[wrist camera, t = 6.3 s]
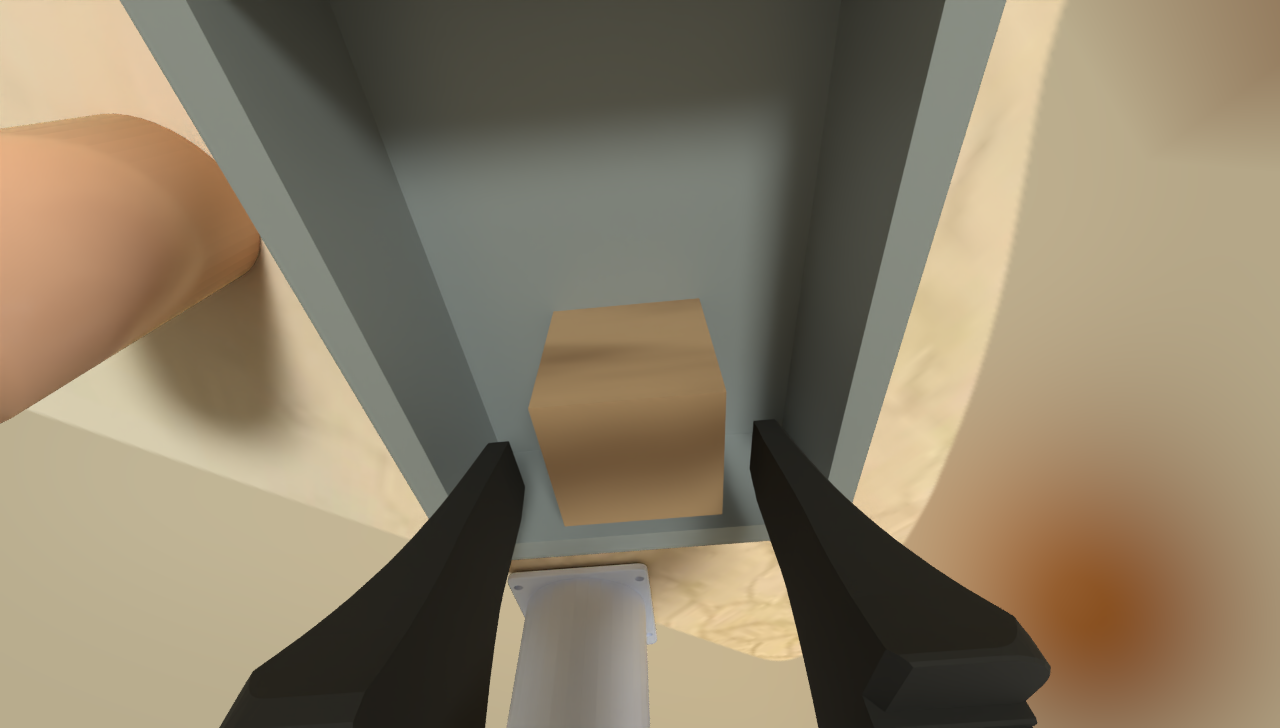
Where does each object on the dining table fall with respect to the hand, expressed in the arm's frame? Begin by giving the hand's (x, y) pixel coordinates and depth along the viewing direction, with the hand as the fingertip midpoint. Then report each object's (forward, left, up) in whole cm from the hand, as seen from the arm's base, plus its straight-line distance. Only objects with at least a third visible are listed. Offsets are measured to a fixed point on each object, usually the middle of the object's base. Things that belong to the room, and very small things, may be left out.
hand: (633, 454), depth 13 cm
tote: (+4, 0, -5) cm, 6 cm away
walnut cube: (0, 0, -4) cm, 4 cm away
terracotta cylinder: (+7, +13, -5) cm, 16 cm away
